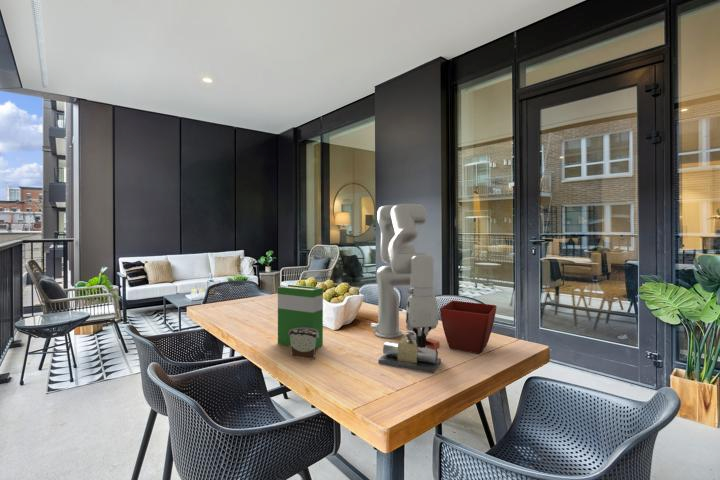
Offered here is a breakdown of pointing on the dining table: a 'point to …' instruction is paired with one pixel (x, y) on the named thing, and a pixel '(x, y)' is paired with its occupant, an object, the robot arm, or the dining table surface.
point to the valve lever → (429, 342)
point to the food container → (303, 342)
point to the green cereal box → (299, 311)
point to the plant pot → (467, 325)
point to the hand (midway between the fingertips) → (421, 346)
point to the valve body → (410, 356)
